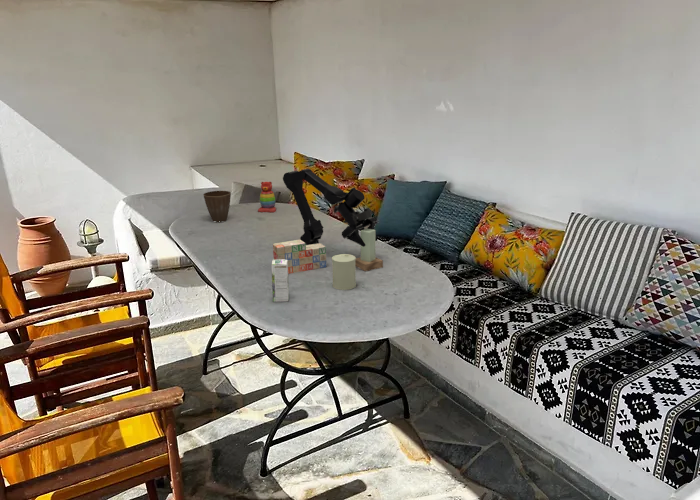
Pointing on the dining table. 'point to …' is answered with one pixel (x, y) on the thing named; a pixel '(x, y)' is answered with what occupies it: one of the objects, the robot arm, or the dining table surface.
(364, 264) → the walnut slab
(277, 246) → the stack of blocks
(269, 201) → the stacking bear
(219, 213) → the plant pot
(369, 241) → the sage post
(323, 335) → the dining table surface
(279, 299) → the syrup box
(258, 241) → the dining table surface
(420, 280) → the dining table surface
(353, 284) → the can
